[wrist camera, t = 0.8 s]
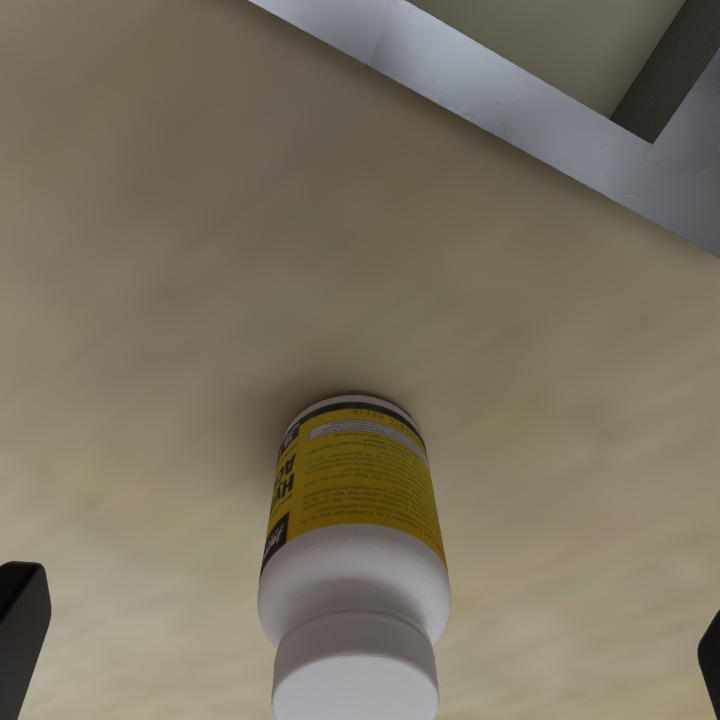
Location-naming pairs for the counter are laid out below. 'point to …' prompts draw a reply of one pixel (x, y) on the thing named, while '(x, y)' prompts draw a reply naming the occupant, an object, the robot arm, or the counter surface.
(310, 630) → the supplement bottle
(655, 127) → the grey slab with hole
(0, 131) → the counter surface
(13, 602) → the robot arm
